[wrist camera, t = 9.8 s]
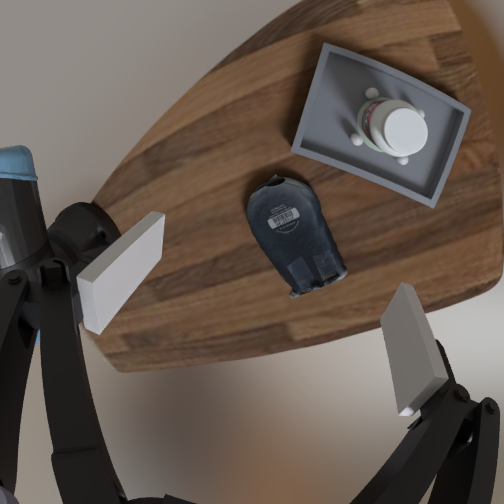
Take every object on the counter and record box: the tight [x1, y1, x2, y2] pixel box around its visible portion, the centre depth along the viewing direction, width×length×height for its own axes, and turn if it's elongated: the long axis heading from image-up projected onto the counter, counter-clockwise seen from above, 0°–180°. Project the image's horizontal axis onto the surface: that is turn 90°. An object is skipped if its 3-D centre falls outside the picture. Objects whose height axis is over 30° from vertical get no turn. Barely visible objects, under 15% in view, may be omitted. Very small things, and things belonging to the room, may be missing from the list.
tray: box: [291, 43, 471, 208], centre depth 28 cm, size 18×13×4 cm
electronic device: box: [246, 174, 348, 298], centre depth 37 cm, size 9×6×15 cm
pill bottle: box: [361, 99, 428, 157], centre depth 25 cm, size 5×5×10 cm
